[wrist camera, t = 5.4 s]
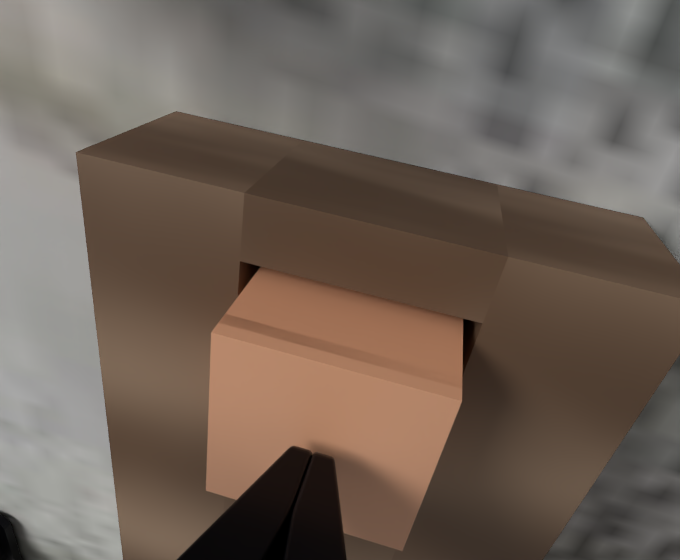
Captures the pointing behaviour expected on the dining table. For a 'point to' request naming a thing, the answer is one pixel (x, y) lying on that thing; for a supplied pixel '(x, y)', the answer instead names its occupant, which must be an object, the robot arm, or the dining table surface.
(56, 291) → the dining table surface
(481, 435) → the panel
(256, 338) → the button
